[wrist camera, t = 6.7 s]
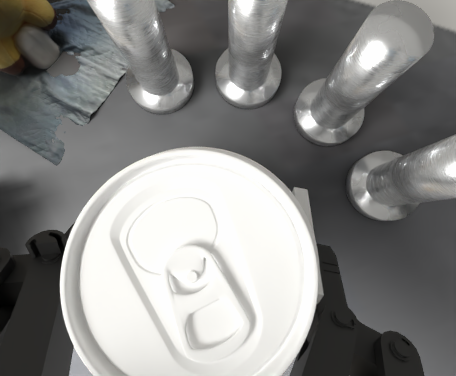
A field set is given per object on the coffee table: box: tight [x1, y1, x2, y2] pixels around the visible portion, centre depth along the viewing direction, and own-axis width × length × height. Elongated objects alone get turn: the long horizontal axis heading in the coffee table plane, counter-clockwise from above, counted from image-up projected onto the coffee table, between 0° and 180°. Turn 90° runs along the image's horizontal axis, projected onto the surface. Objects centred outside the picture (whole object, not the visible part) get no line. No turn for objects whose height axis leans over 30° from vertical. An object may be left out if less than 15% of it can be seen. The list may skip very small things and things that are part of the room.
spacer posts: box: [87, 0, 456, 221], centre depth 16 cm, size 23×12×9 cm, turn 79°
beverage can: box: [60, 147, 320, 376], centre depth 13 cm, size 8×8×12 cm
